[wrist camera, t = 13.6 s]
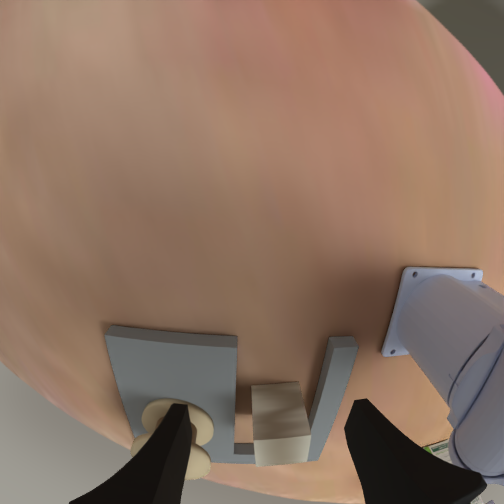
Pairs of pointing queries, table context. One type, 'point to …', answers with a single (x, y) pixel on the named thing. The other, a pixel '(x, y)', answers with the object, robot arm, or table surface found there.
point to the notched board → (213, 382)
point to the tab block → (279, 424)
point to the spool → (200, 433)
